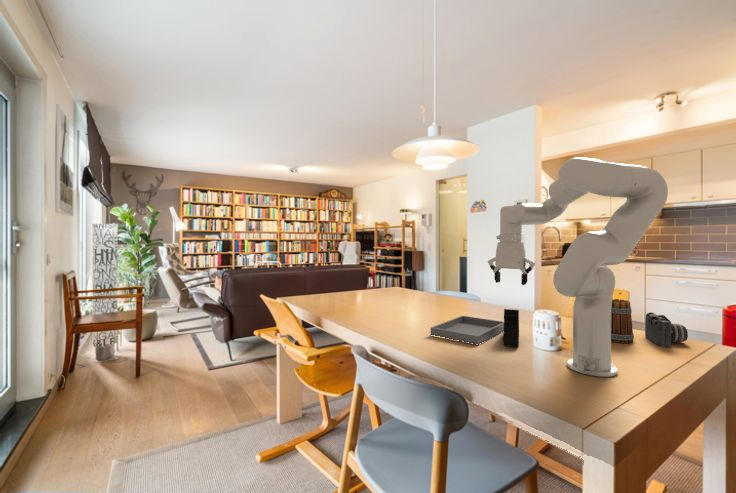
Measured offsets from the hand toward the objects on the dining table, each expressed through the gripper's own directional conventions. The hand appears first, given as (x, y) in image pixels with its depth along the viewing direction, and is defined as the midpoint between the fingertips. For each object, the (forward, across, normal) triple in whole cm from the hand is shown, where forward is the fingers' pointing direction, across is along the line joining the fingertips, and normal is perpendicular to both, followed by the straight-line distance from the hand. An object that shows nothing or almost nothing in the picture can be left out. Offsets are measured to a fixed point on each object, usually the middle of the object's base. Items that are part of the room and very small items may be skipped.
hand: (510, 283), depth 131 cm
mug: (+22, +28, +25) cm, 44 cm away
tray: (+22, -16, 0) cm, 28 cm away
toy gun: (+22, +1, 0) cm, 22 cm away
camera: (+22, +45, +34) cm, 60 cm away
